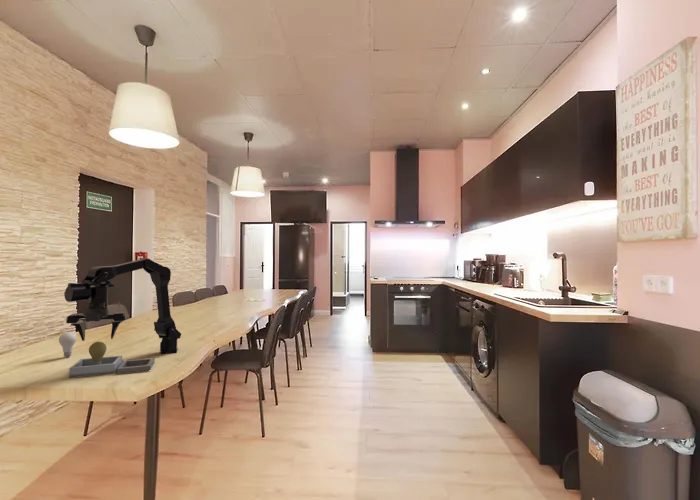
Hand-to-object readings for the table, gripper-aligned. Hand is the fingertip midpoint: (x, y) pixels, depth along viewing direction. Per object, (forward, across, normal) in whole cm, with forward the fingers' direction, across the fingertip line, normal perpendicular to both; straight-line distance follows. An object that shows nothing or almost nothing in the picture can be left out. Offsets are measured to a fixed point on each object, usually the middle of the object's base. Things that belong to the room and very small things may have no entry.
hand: (97, 339), depth 136 cm
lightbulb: (+12, -17, +25) cm, 33 cm away
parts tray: (+12, 0, 0) cm, 12 cm away
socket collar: (+12, +14, -2) cm, 18 cm away
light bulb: (+11, 0, 0) cm, 11 cm away
